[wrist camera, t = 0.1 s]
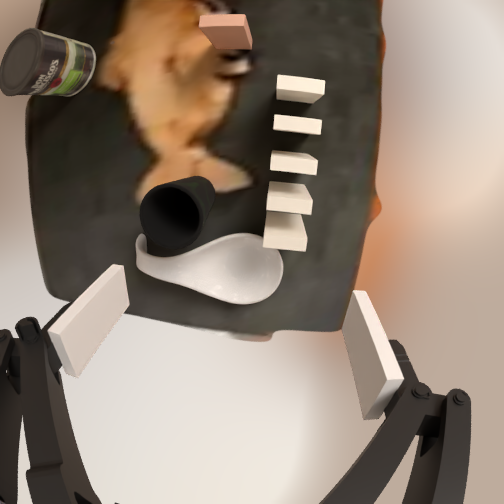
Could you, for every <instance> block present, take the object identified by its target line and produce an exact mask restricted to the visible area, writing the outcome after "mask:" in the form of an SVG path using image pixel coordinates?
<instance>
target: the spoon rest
mask: <svg viewBox="0 0 504 504" xmlns="http://www.w3.org/2000/svg"><path fill="white" fill-rule="evenodd" d="M263 241H264V238H263V237H261V236H258V235H255V234H250V233H236V234H231V235H227V236H224V237H221V238H218V239H216V240H213V241H211V242H209V243H207V244H205V245H203V246H200V247H198V248H196V249H194V250H191V251H189V252H186V253H184V254H181V255H177V256H173V257H157V256H152V255H150V254H147V240H146V236H145V235H144V234H140V235H139V236H138V238H137V240H136V254H137V259H136V264H137V267H138V268H139V269H140V270H141V271H142V272H144V273H146V274H148V275H150V276H152V277H155V278H158V279H161V280H164V281H167V282H171V283H175V284H179V285H182V286H185V287H188V288H191V289H193V290H196V291H198V292H201V293H203V294H206V295H208V296H211V297H213V298H216V299H219V300H222V301H226V302H229V303H235V304H252V303H256V302H259V301H262V300H264V299H266V298H267V297H269V296H270V295H271V294H272V293H273V292H274V291H275V290H276V289H277V287H278V285H279V284H280V281H281V278H282V274H283V262H282V258H281V255H280V252H279V251H278V249H276V248H265V247H263Z"/></svg>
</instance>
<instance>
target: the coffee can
mask: <svg viewBox="0 0 504 504" xmlns="http://www.w3.org/2000/svg"><path fill="white" fill-rule="evenodd" d="M95 65H96V55H95V51H94V49H93V48H92V47H91V46H90V45H89V44H86V43H82V42H79V41H75V40H72V39H69V38H66V37H62V36H59V35H55V34H52V33H48V32H44V31H40V30H39V29H36V28H29V29H26V30H24V31H23V32H21V33H20V34H19V35H18V36H16V38H15V39H14V40H13V41H12V42H11V44H10V45H9V47H8V48H7V50H6V52H5V54H4V57H3V59H2V63H1V66H0V89H1V91H2V92H3V93H4V94H5V95H6V96H15V95H59V96H72V95H75V94H77V93H78V92H80V91H81V90H82V89H83V88H84V87H85V86H86V85H87V83H88V82H89V80H90V79H91V77H92V75H93V72H94V69H95Z"/></svg>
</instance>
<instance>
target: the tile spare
mask: <svg viewBox="0 0 504 504" xmlns="http://www.w3.org/2000/svg"><path fill="white" fill-rule="evenodd" d="M199 28H200V29H201V30H202V32H203V33H204V34H205V35H206V37H207V38H208V39H209V40H210V42H211V43H212V44H213V45H214V47H215V48H216V49H250V50H252V37H251V33H250V30H249V26H248V23H247V19H246V16H245V14H225V15H203V16H200V22H199Z"/></svg>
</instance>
